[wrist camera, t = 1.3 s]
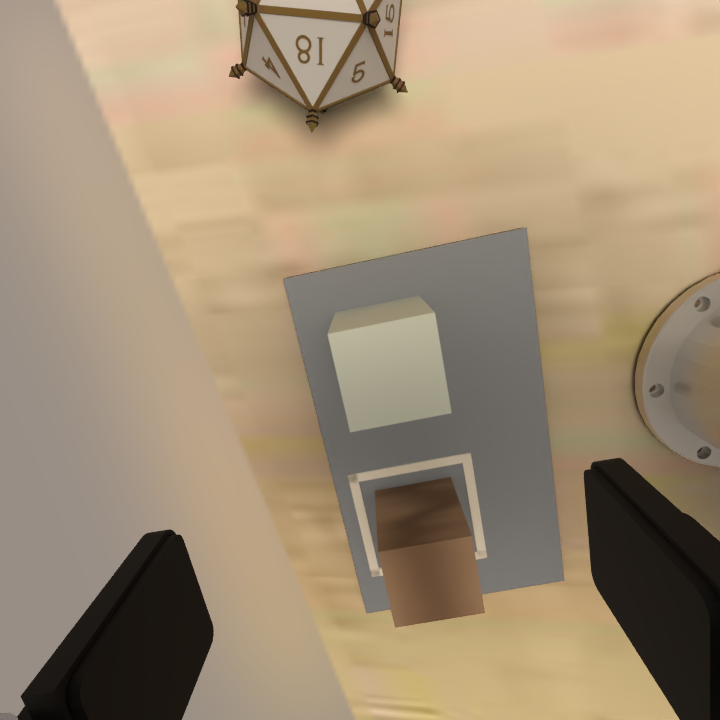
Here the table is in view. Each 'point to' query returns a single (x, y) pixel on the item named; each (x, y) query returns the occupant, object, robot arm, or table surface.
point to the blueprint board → (467, 400)
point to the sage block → (389, 363)
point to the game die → (320, 48)
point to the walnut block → (426, 553)
